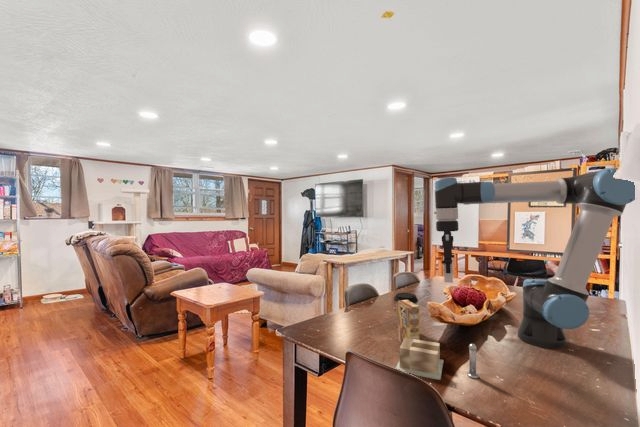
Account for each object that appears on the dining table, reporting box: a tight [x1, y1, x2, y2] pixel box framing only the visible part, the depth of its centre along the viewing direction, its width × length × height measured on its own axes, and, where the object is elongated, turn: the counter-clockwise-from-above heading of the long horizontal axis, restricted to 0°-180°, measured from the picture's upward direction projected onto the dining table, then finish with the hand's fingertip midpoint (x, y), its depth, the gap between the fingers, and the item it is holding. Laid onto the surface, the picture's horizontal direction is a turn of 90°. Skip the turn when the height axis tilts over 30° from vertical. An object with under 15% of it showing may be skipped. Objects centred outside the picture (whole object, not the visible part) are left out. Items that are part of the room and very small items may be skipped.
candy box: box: [397, 300, 421, 344], centre depth 115 cm, size 9×4×15 cm, turn 13°
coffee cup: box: [393, 292, 419, 330], centre depth 128 cm, size 9×9×15 cm
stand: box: [466, 343, 479, 380], centre depth 93 cm, size 3×3×10 cm
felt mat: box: [395, 359, 444, 381], centre depth 99 cm, size 13×13×1 cm
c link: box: [399, 338, 441, 375], centre depth 99 cm, size 11×9×6 cm
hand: (448, 278), depth 115 cm, fingers open, 13 cm apart
